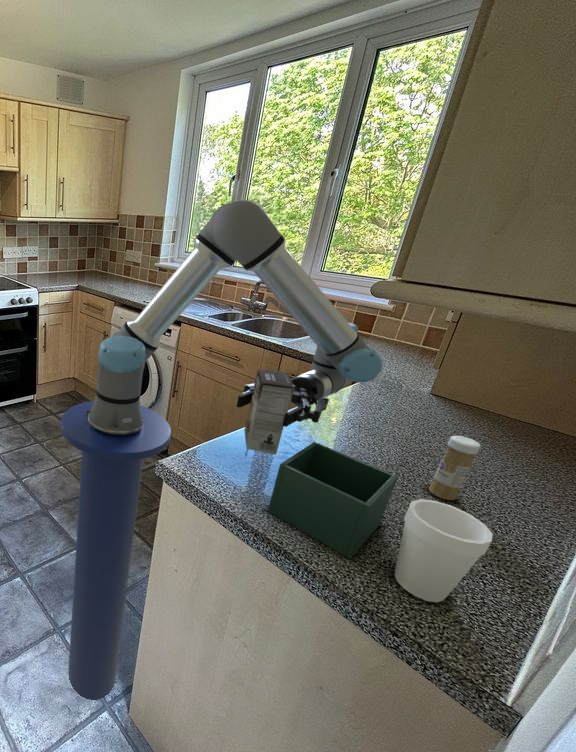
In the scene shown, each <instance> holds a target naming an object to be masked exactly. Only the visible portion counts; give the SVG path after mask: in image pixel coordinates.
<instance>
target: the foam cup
mask: <svg viewBox="0 0 576 752" xmlns="http://www.w3.org/2000/svg"><path fill="white" fill-rule="evenodd" d="M403 520H404V524H403V530H402V534H401V539H400V544H399V545H400V546H399V549H398V554H397V560H396V563H395V569H394V578H395V580H396V582H397V583H398V584H399V585H400V586H401V587H402V588H403V590H405V591H407V592H408V593H410V594H411V595H413V596H414V597H417V598H419V599H421V600H424V601H425V602H431V603H440V602H443V601H444V600H445V599H446V598H447V597H448V596H449V595H450V594H451V593H452V591H453V590H454V589H455V588H456V586H457V585H458V584H459V583H460V582H461V580H463V578H464V577H465V576H466V575H467V573H468V572H469V571H470V569H471V568H473V566H474V565H475V564H476V563H477V561H478V560H479V559H480V558H481V557H482V556H483V555H485V554H486V553H487V551H488V550H489V548H490V545H491V544H492V541H493V533H492V532H491V530H490V529H489V527H487V525H486V524H484V522H482V521H480V520H479V519H477V517H475V516H473V515H472V514H470V513H468V512H466V511H463V509H460V508H458V507H455V506H454V505H450V504H447V503H444V502H440V501H437V500H431V499H423V498H420V499H416V500H411V501H410V503H409V506H408V508H407V511H406V513H405V515H404V517H403Z"/></svg>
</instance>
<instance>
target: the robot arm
mask: <svg viewBox="0 0 576 752" xmlns="http://www.w3.org/2000/svg"><path fill="white" fill-rule="evenodd" d="M286 243H287V239H286V238H285V237H284V236H283V234H282V233H281V232H280V231H279V230H278V228H277V227H276V225H275V224H274V222H273V221H272V220H271V218H270V217H269V215H268V213H267V212H266V211H265V210H264V208H263V207H262V206H261V205H259V204H258V203H257V202H254V201H252V200H249V199H238V200H233V201H229V202H226V203H225V204H223V205H220V207H218V208H217V209H216V210H215V211H214V212H213V214H211V216H210V219H209V221H208V222H207V223H206V224H205V225H204V227H203V228H202V229H201V231H199V233H198V234H197V235H196V236H195V238H194V248H193V250H192V251H191V252H190V253H189V254H188V255H187V257H186V258H185V259H184V260H183V261H182V262H181V264H180V265H179V266H178V267H177V269H176V270H175V271H174V272H173V273H172V274H171V275H170V277H169V278H168V279H167V280H166V282H165V283H164V284H163V285H162V286H161V288H160V289H159V290H158V291H157V293H156V294H154V296H153V297H152V298H151V300H150V301H149V302H148V303H147V305H146V306H145V307H144V308H143V309H142V311H141V312H140V313H139V314H138V315H137V316H136V317H135V318H129V319H127V321H126V322H125V323H124V324H123V325H122V326H121V327H120V329H119V330H118V331H116V332H115V333H114V334H113V335H112V336H111V337H107V338H105V339H104V340H103V341H102V342H101V343H100V345H99V350H98V352H97V353H98V354H97V355H98V361H97V363H98V364H97V376H96V378H97V379H96V392H95V397H94V399H93V401H94V402H93V404H92V407H91V409H90V410H87V413H88V425H89V426H90V427H91V428H92V429H93V430H94V431H96V432H98V433H100V434H103V435H107V436H111V437H129V436H134V435H136V434H138V433H140V432H141V431H142V430H143V426H144V418H143V415H142V411H141V406H142V405H141V390H142V383H143V374H144V369H145V366H146V365H145V364H146V362H147V361H148V360H149V359H150V358H151V356H152V355H153V354H154V352H156V351H157V350H158V348H159V347H160V346H161V343H160V342H161V341H160V338H161V337H162V336H163V335H164V334H165V333H166V331H168V329H169V328H170V327H171V325H173V323H174V322H175V321H177V319H178V318H179V317H180V315H182V313H183V312H185V310H186V309H187V308H188V307H189V306H190V305H191V303H192V302H193V301H194V300H195V299H196V298H197V297H198V296H199V294H200V293H201V292H202V291H203V290H204V288H206V287H207V285H208V284H209V283H210V282H211V281H212V280H213V278H215V276H216V275H217V274H218V273H219V272H220V271H221V270H222V269H226V268H227V269H228V268H231V267H232V266H233V265H234V264H235V263H236V262H238V263H239V264H240V266H241V267H242V268H243V269H244V270H245V271H246V272H253V273H254V274H255V276H257V278H258V279H259V280H260V281H261V282H262V283H263V284H264V286H265V287H267V289H268V291H270V293H272V295H273V296H274V297H275V299H277V300H278V302H279V303H280V304H281V305H282V307H283V308H284V309H285V310H286V311H287V312H288V313H289V315H291V317H292V318H293V319H294V320H295V321H296V323H297V324H298V325H299V326H300V327H301V328H302V329H303V331H304V332H305V333H306V334H307V336H308V337H309V338H310V339H311V340H312V341H313V343H314V344H315V345H316V348H315V351H314V356H313V359H312V363H311V366H310V370H309V371H307V372H304V373H302V374H299V375H297V376H295V377H292V378H290V379H291V381H292V384H293V386H294V390H293V394H292V398H291V401H290V403H292V404H293V405H295V406H297V407H295V408H294V409H291V410H290V411H288V413H286V414H285V417H284V421H283V424H282V426H284V427H285V428H287V427H289V426H290V425H292V424H294V423H296V422H298V423H301V422H303V421H307V420H310V421H311V422H312V423H316V424H317V423H318V422H319V421H320V419H321V418H320V417H321V415H322V414H323V413H322V412H324V411H326V410H327V407H328V405H329V402H330V399H329V398H328V397H330V396H332V395H334V394H337V393H338V392H340V391H341V390H342V389H344V387H345V386H347V384H348V381H351V382H354V383H361V384H362V383H367V382H370V381H372V380H374V379H376V378H377V377H378V376H379V375H380V374H381V372H382V370H383V365H384V362H383V360H382V357H381V356H380V355H379V354H378V353H377V352H376V351H375V350H374V349H372V348H371V347H369V345H368V344H367V343H366V341H365V340H364V339H363V338H362V337H361V336H360V335H359V334H358V333H359V326H358V325H357V324H355V323H351V322H348V321H347V319H346V318H345V317H344V316H343V315H342V313H341V312H340V311H339V310H338V309H337V308H336V306H335V304H333V303H332V302H331V300H330V299H329V298H328V297H327V295H326V294H325V293H324V292H323V291H322V289H320V287H319V286H318V285H317V284H316V283H315V281H314V280H313V279H312V278H311V276H310V275H309V274H308V273H307V272H306V270H305V269H304V268H303V267H302V266H301V265H300V264H299V262H298V261H297V260H296V259H295V257H293V255H292V254H291V253H290V252H289V251H288V249H287V248H286ZM254 384H255V382H254V383H247V384H244V388H243V392H242V393H241V394H240V395H238V398H237V403H236V407H237V408H239V409H240V408H243V407H245V406H247V405H250V402H251V398H252V393H253V389H254ZM313 405H315V408H314V410H311V409H312V406H313Z"/></svg>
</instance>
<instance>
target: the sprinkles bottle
mask: <svg viewBox="0 0 576 752" xmlns="http://www.w3.org/2000/svg"><path fill="white" fill-rule="evenodd" d="M480 449H481V444H480V442H477V441H476V440H475V439H472V438H470V437H466V436H462V435H452V436H450V438H449V440H448V442H447V448H446V450H445V452H444V455H443V458H442V459H441V461H440V463H439V465H438V466H437V470H436V471H435V474H434V478H433V479H432V482H431V483H430V486H429V487H428V491H429V492H430V493H431V494H432V495H434V496H435V497H437V498H440V499H442V500H446V501H454V500H456V499H457V495H458V493H459V491H460V489H461V487H462V486H463V483H464V481H465V479H466V477H467V475H468V473H469V470H470V469H471V466H472V463H473V461H474V459H475V457H476V455H477V454H478V453H479V451H480Z"/></svg>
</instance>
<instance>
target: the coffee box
mask: <svg viewBox="0 0 576 752" xmlns="http://www.w3.org/2000/svg"><path fill="white" fill-rule="evenodd" d="M291 379H292V378H291V376H290V374H289V372H286V371H276V370H270V369H269V370H268V369H260V368H258V369H257V372H256V375H255V380H254V383H255V384H254V383H253V384H254V389H253V393H252V398H251V402H250V403H249V408H248V412H247V416H246V419H245V425H244V437H245V438H244V439H245V447H246V450H249V451H256V452H260V453H266V454H271V455H277V453H278V449H279V446H280V442H281V437H282V434H283V431H284V427H285V426H282V424H283V421H284V417H285V414H286V413H288V412H289V408H290V405H291V398H292V394H293V390H294V386H293V384H292V381H291Z"/></svg>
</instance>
